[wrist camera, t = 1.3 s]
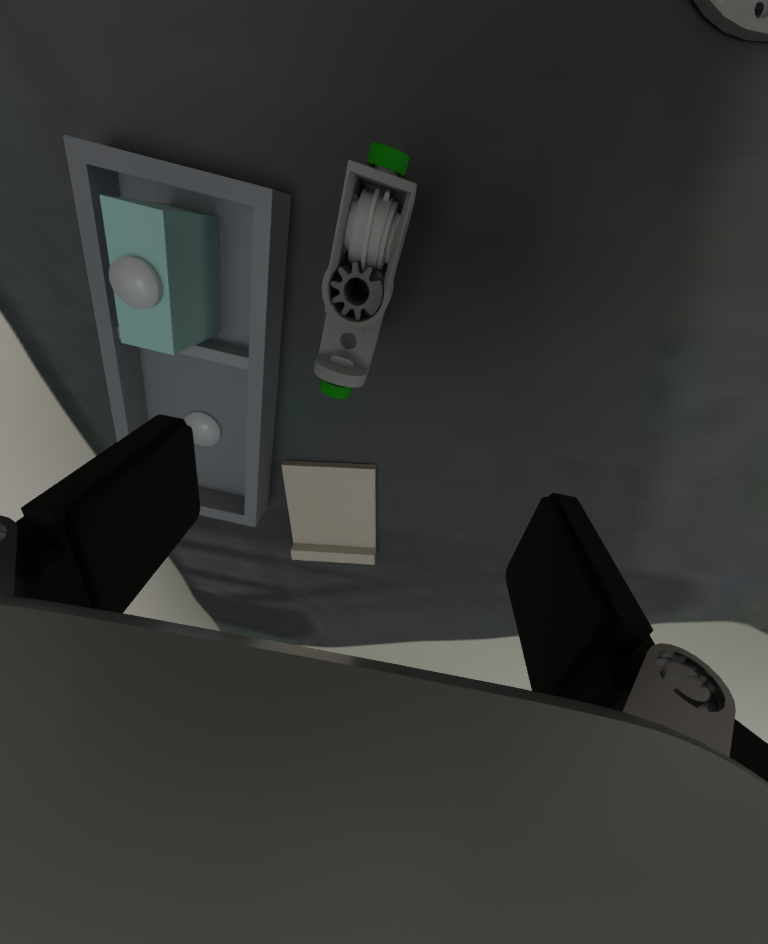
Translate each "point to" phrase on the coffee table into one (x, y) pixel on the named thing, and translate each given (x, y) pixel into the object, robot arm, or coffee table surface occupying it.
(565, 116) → the coffee table surface
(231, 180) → the housing
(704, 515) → the coffee table surface
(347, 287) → the mechanical component
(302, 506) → the lid plate
